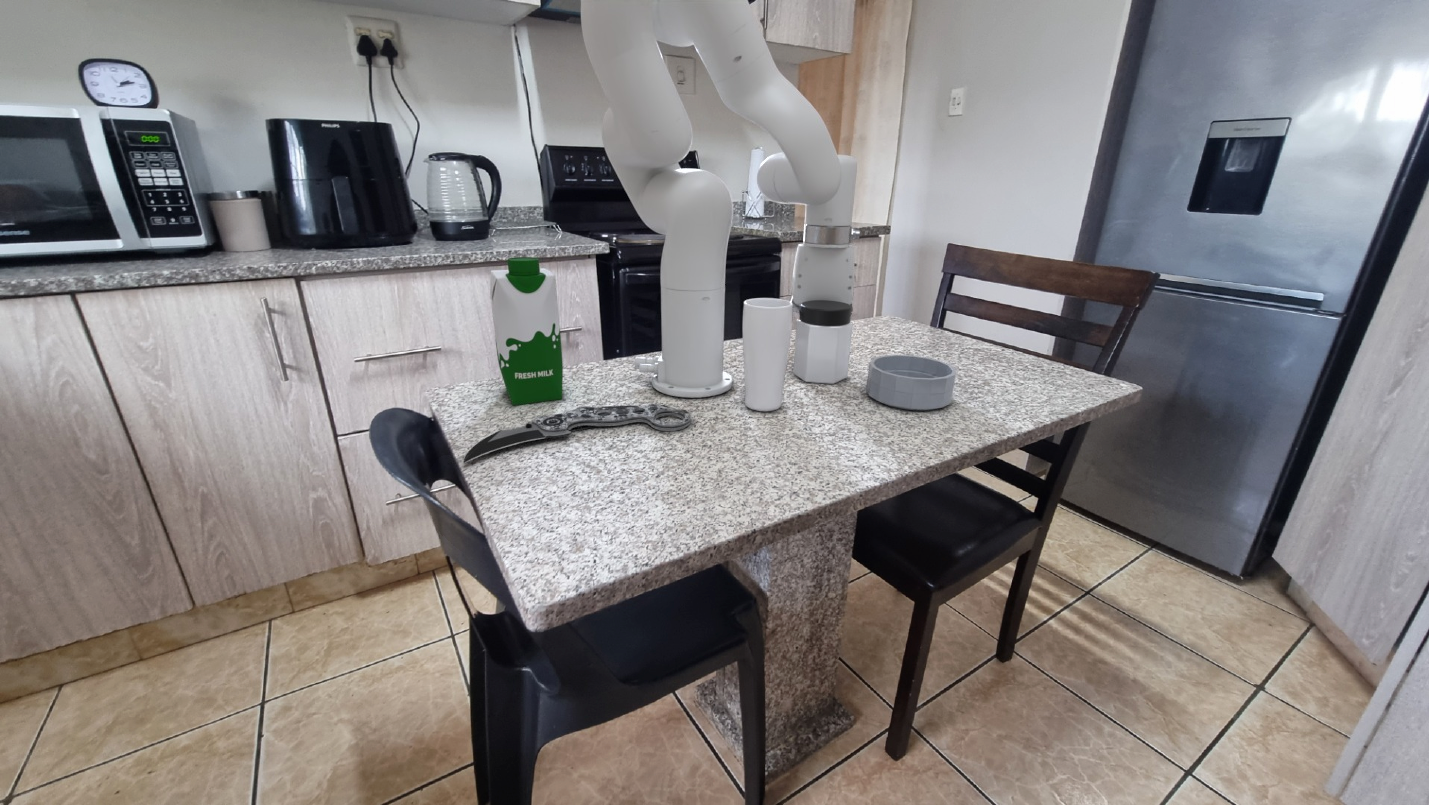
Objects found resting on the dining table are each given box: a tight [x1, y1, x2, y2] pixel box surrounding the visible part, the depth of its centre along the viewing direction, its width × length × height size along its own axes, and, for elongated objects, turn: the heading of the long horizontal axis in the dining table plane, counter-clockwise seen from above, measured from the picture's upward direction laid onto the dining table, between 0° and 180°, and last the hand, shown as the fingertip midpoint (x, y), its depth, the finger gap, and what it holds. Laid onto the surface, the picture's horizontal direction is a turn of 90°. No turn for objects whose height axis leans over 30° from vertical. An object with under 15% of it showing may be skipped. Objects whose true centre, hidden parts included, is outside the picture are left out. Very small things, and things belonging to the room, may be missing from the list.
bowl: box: [865, 354, 958, 411], centre depth 87 cm, size 12×12×5 cm
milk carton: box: [489, 256, 564, 406], centre depth 83 cm, size 9×9×20 cm
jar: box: [792, 300, 854, 385], centre depth 95 cm, size 9×8×12 cm
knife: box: [462, 403, 692, 464], centre depth 73 cm, size 28×2×10 cm
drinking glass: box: [741, 297, 794, 412], centre depth 81 cm, size 7×7×15 cm
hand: (817, 345), depth 102 cm, fingers closed
